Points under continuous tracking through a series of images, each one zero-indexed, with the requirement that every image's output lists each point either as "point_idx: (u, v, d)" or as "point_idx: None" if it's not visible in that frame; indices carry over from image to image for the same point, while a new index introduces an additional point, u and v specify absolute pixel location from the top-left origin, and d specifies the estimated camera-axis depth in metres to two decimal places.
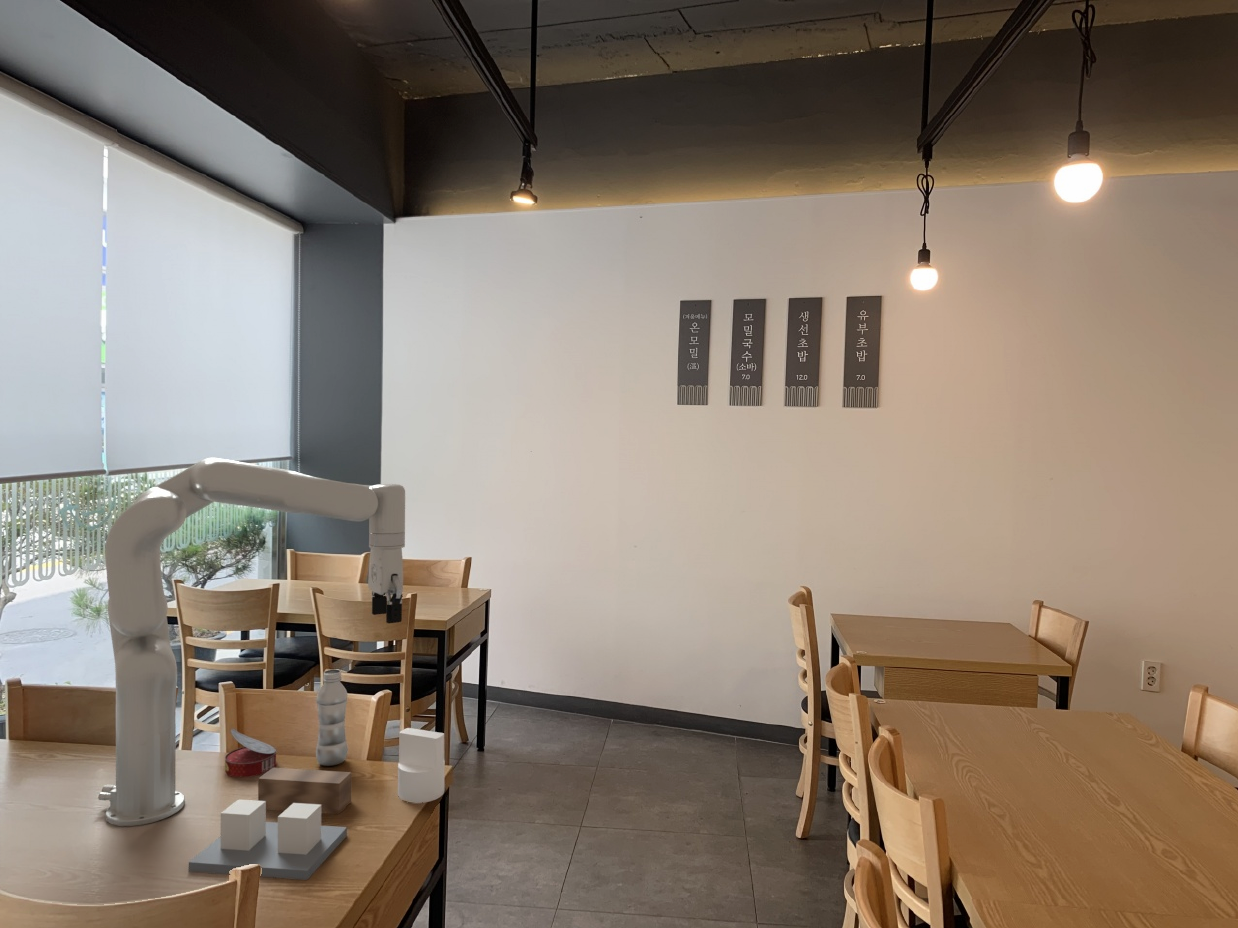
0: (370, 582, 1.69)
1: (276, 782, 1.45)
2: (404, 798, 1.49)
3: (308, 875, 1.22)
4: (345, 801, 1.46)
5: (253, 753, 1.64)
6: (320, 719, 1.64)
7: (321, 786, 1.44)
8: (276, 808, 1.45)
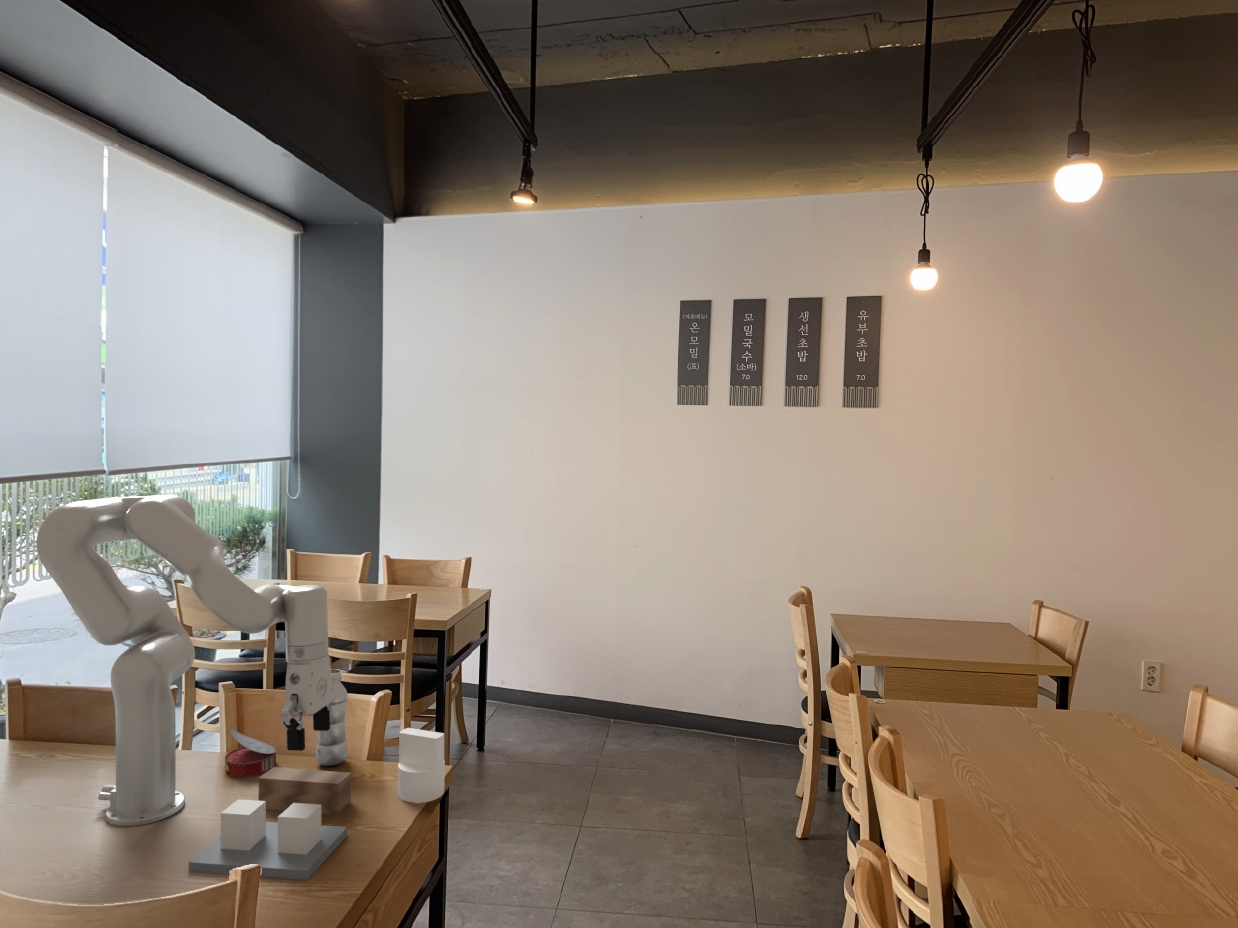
0: (315, 704, 1.44)
1: (276, 782, 1.45)
2: (404, 798, 1.49)
3: (308, 875, 1.22)
4: (345, 801, 1.46)
5: (253, 753, 1.64)
6: None
7: (320, 786, 1.44)
8: (276, 808, 1.45)
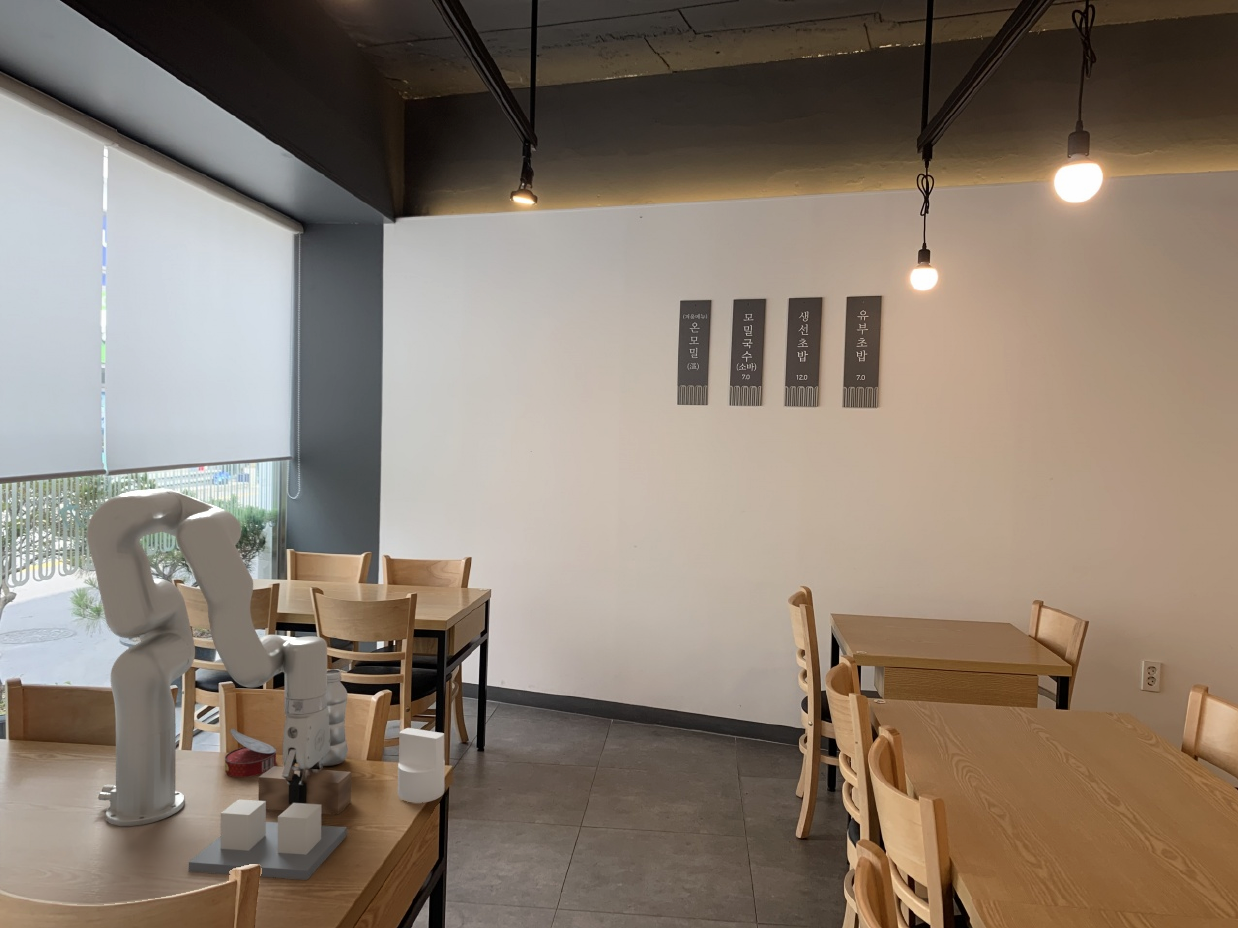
0: (313, 757, 1.44)
1: (276, 781, 1.45)
2: (404, 798, 1.49)
3: (308, 875, 1.22)
4: (345, 800, 1.46)
5: (253, 753, 1.64)
6: None
7: (320, 785, 1.44)
8: (276, 807, 1.45)
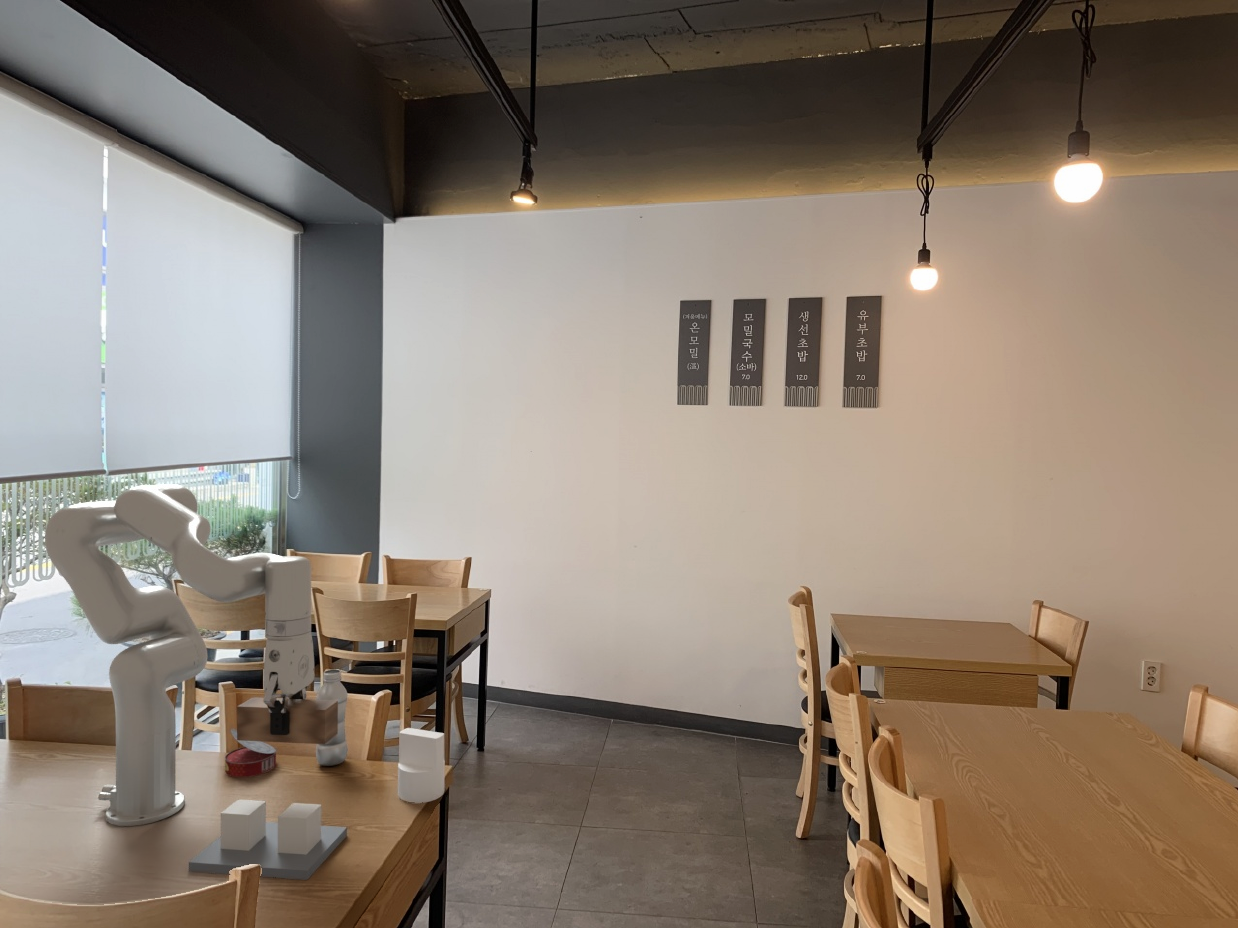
0: (296, 684, 1.34)
1: (256, 710, 1.34)
2: (404, 798, 1.49)
3: (308, 875, 1.22)
4: (332, 730, 1.36)
5: (253, 753, 1.64)
6: None
7: (305, 713, 1.34)
8: (256, 738, 1.34)
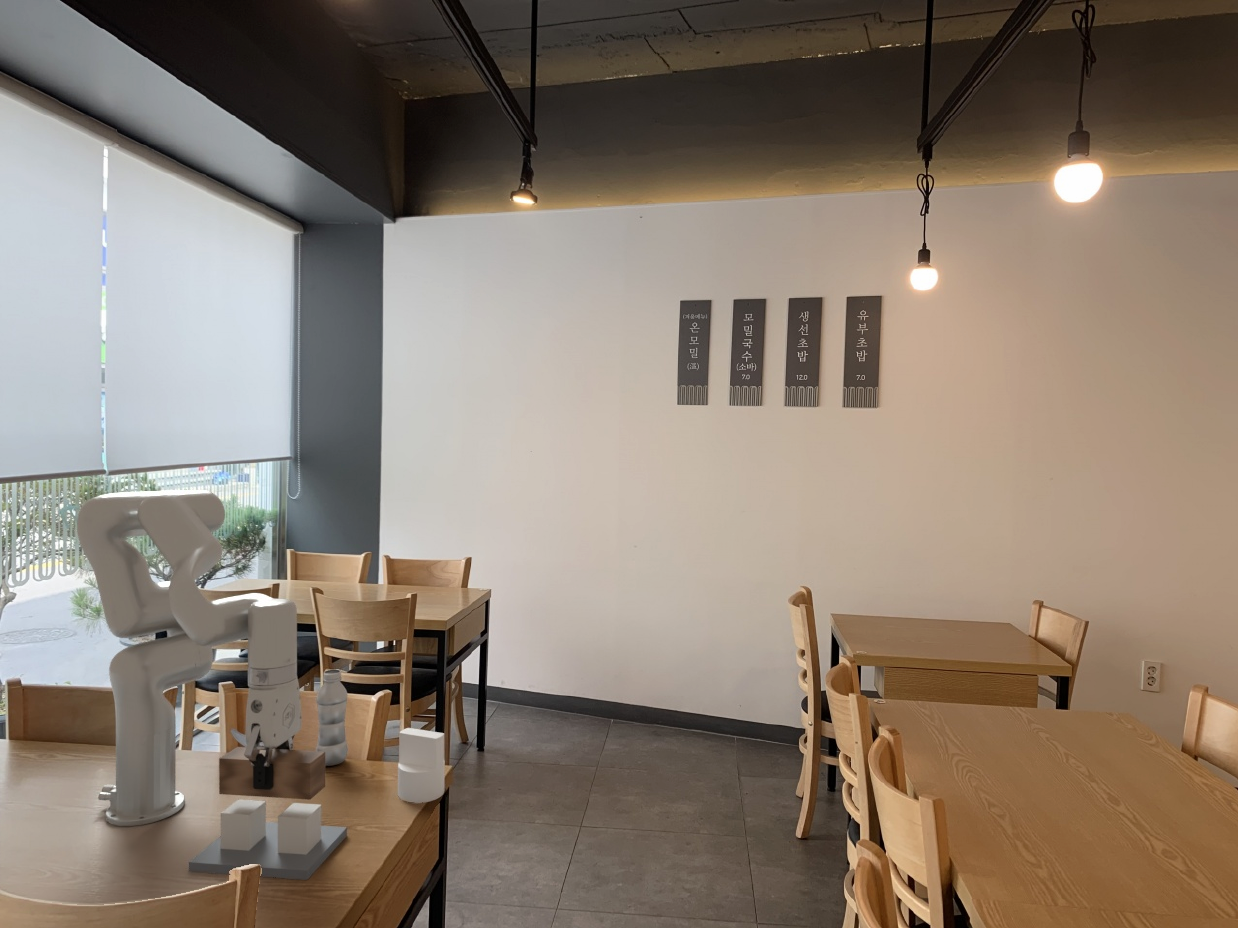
0: (280, 735, 1.26)
1: (239, 762, 1.27)
2: (404, 798, 1.49)
3: (308, 875, 1.22)
4: (318, 784, 1.29)
5: None
6: (320, 719, 1.64)
7: (289, 766, 1.26)
8: (239, 792, 1.27)
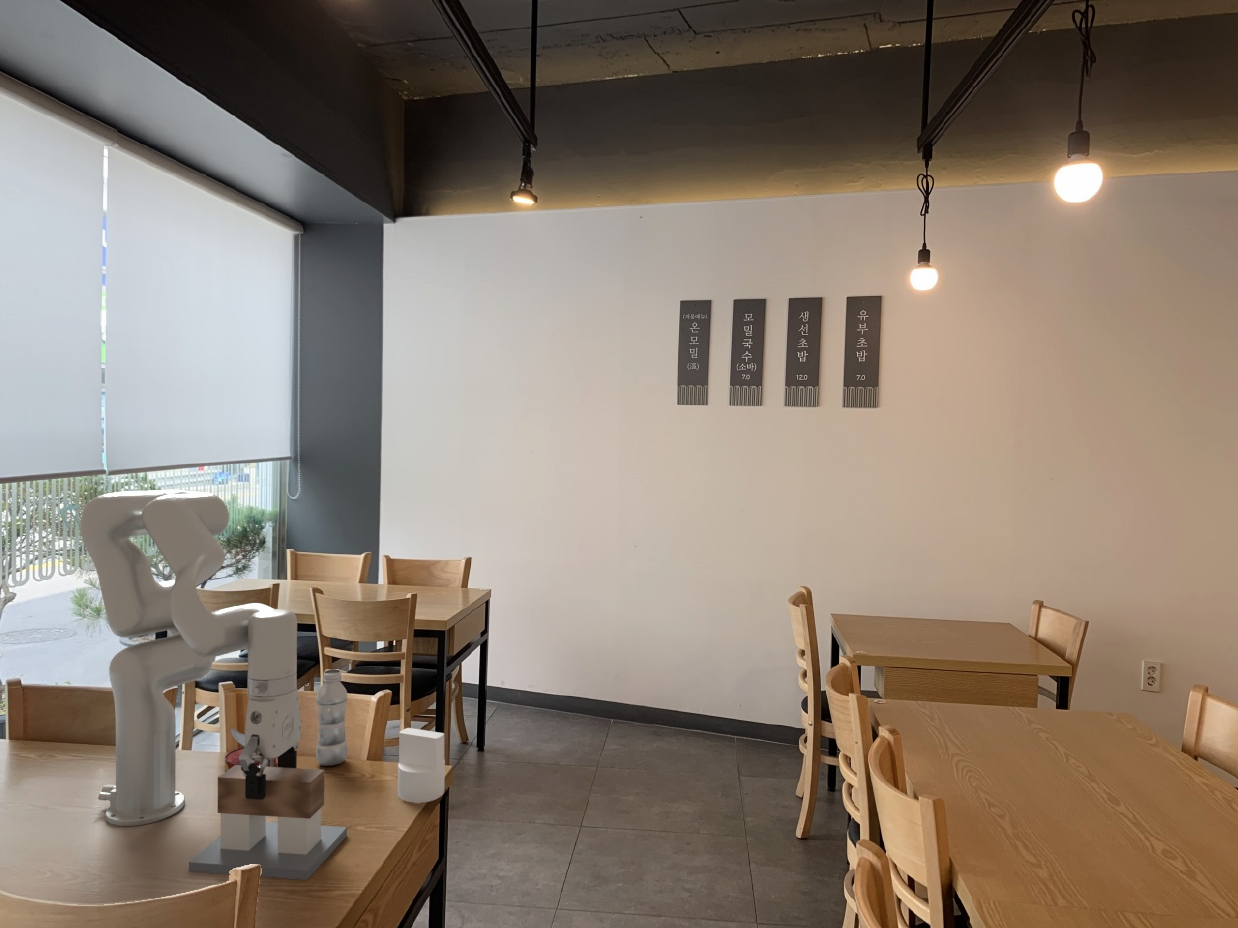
0: (279, 746, 1.26)
1: (238, 781, 1.27)
2: (404, 798, 1.49)
3: (308, 875, 1.22)
4: (318, 802, 1.29)
5: None
6: (320, 719, 1.64)
7: (289, 785, 1.26)
8: (238, 811, 1.27)
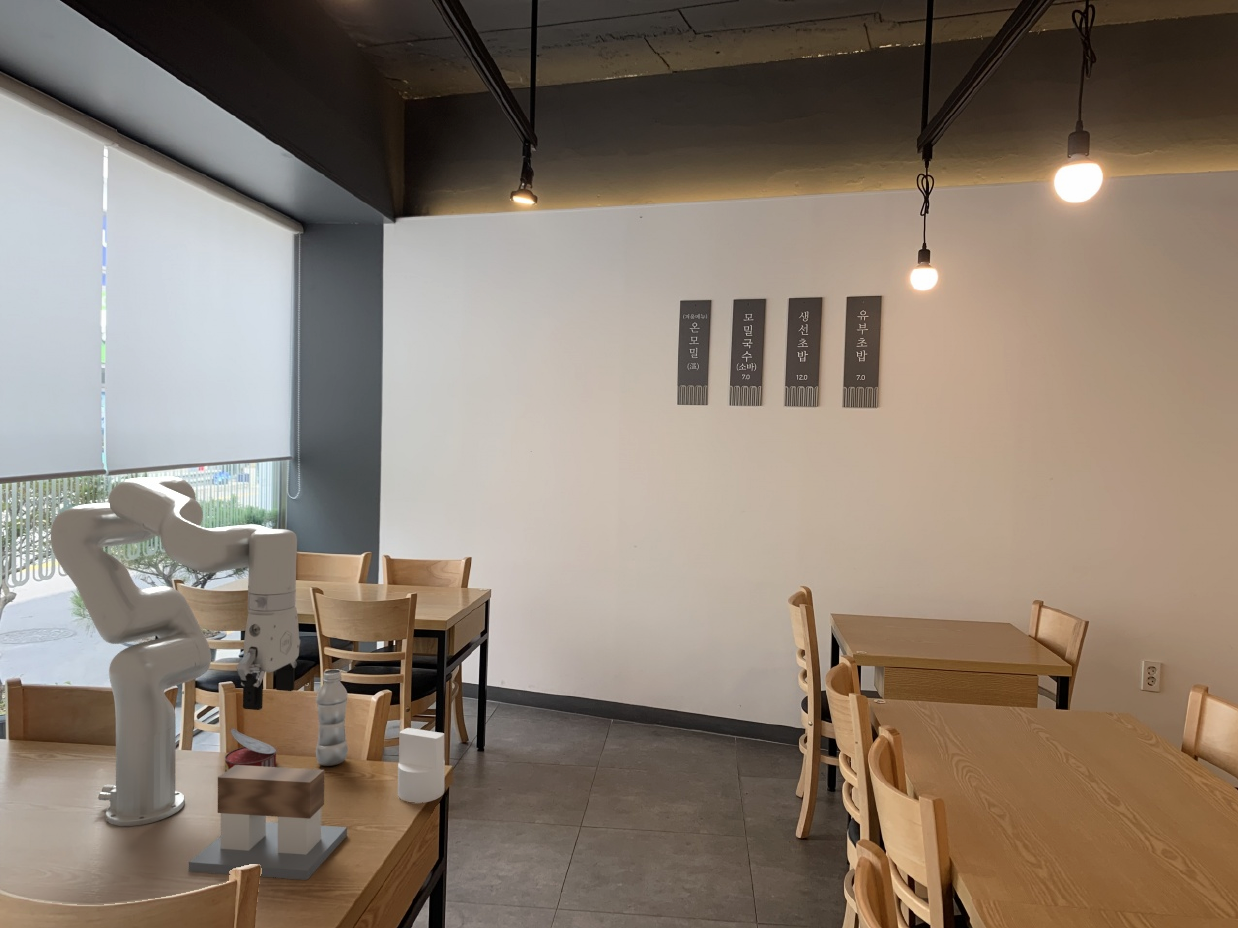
0: (277, 660, 1.30)
1: (238, 781, 1.27)
2: (404, 798, 1.49)
3: (308, 875, 1.22)
4: (318, 802, 1.29)
5: (253, 753, 1.64)
6: (320, 719, 1.64)
7: (289, 785, 1.26)
8: (238, 811, 1.27)
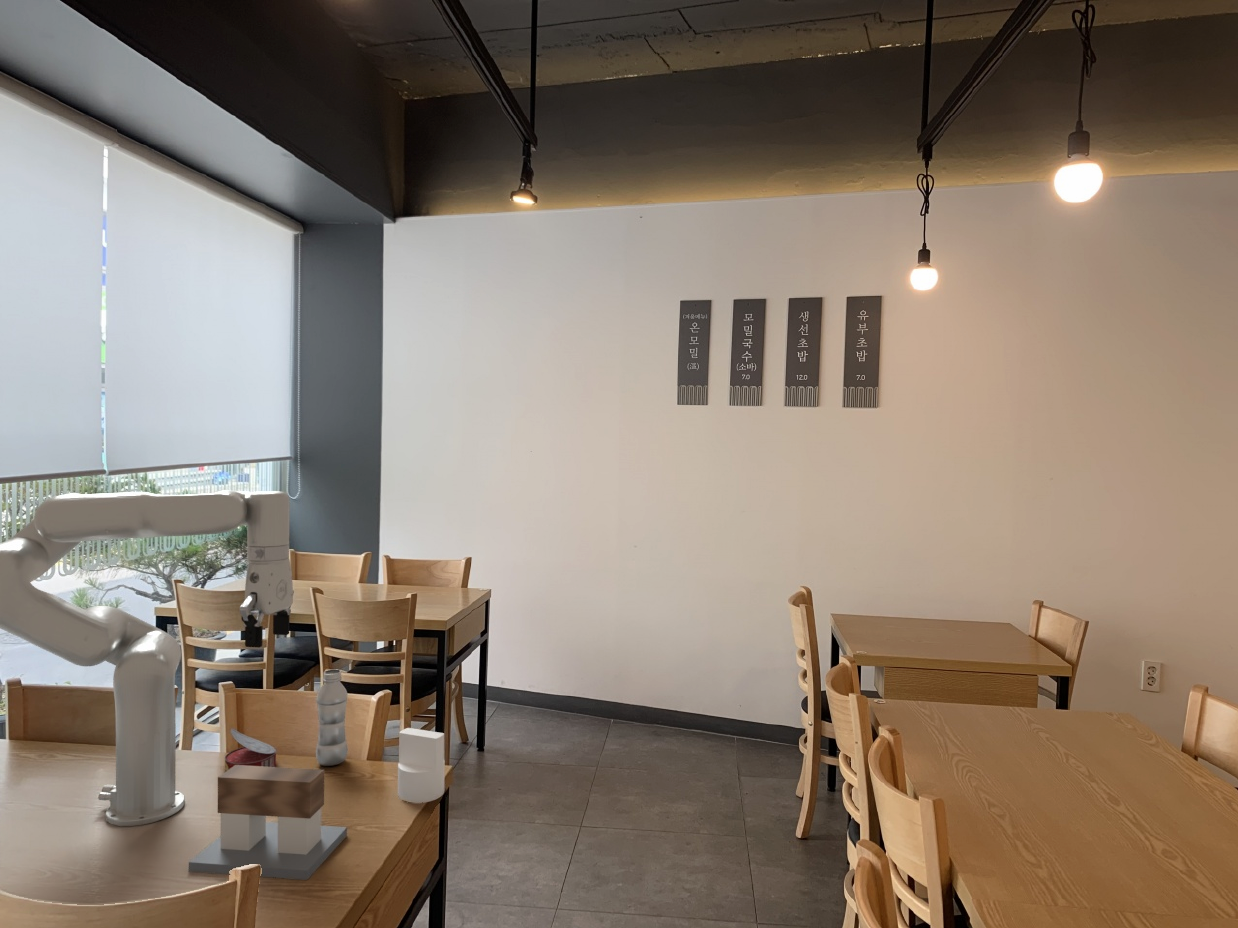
0: (274, 604, 1.48)
1: (238, 781, 1.27)
2: (404, 798, 1.49)
3: (308, 875, 1.22)
4: (318, 802, 1.29)
5: (253, 753, 1.64)
6: (320, 719, 1.64)
7: (289, 785, 1.26)
8: (238, 811, 1.27)
